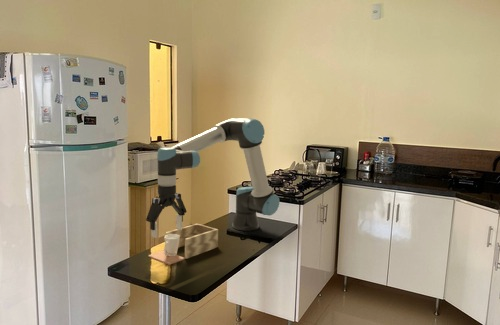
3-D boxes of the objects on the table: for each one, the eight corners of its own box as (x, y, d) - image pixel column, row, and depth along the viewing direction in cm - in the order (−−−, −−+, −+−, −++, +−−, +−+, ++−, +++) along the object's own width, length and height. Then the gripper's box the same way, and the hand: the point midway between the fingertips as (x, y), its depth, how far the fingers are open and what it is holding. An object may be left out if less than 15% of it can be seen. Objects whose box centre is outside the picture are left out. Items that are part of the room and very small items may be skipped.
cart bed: (196, 242, 191) (197, 223, 189) (217, 249, 182) (218, 229, 181) (165, 253, 175) (165, 232, 174) (186, 261, 166) (186, 239, 165)
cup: (182, 252, 172) (183, 234, 171) (172, 260, 162) (172, 242, 161) (168, 250, 174) (168, 233, 173) (157, 258, 164) (157, 239, 163)
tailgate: (164, 249, 174) (148, 255, 167) (185, 257, 166) (169, 263, 159) (164, 252, 174) (148, 257, 167) (185, 260, 166) (169, 266, 159)
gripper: (182, 179, 174) (182, 224, 177) (136, 187, 155) (137, 238, 158) (194, 181, 170) (194, 228, 173) (148, 190, 150) (149, 242, 153)
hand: (167, 233), depth 165 cm, fingers open, 13 cm apart
